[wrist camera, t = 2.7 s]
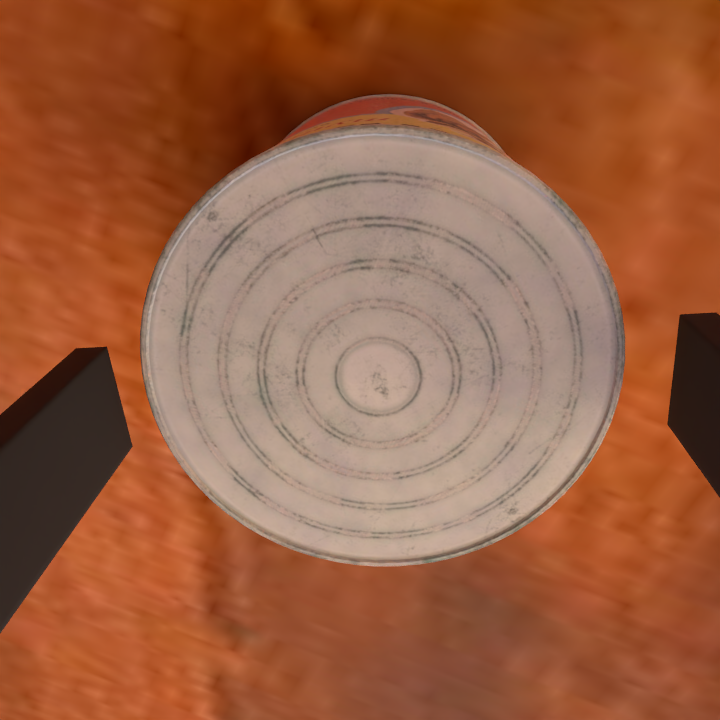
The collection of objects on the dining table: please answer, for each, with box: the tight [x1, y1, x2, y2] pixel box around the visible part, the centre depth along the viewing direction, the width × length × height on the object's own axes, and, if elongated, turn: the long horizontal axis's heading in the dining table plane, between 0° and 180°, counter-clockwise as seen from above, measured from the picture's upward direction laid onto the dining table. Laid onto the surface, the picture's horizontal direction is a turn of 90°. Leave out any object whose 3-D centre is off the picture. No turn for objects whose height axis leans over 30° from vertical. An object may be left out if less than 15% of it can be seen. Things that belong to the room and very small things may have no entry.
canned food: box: [140, 94, 625, 566], centre depth 21 cm, size 11×11×12 cm
